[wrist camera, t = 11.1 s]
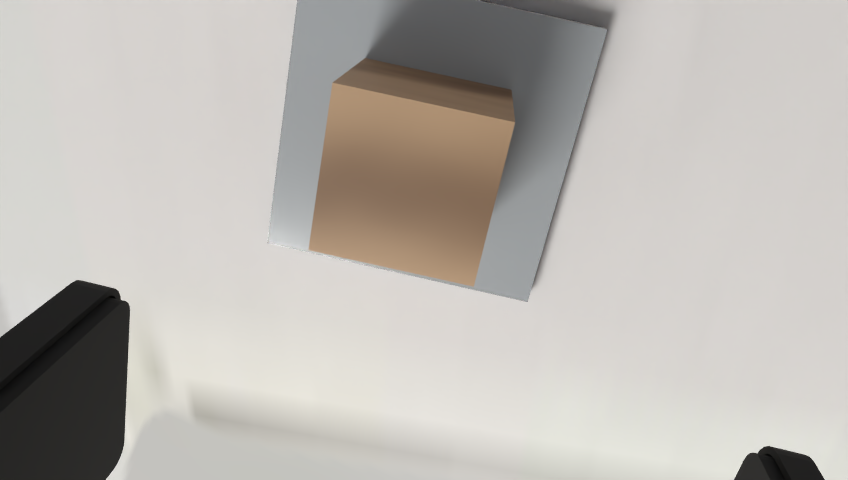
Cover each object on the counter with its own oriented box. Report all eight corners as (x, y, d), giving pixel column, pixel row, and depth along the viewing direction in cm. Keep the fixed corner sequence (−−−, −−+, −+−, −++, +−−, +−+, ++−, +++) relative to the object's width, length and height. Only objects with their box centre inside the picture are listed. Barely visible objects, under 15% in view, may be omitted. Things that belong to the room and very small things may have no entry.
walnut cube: (365, 58, 28) (332, 82, 22) (511, 89, 28) (515, 122, 22) (343, 196, 30) (308, 250, 25) (478, 226, 30) (473, 286, 25)
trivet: (307, -38, 28) (302, -38, 27) (604, 27, 27) (607, 29, 27) (272, 236, 32) (267, 243, 31) (526, 294, 32) (527, 301, 31)
